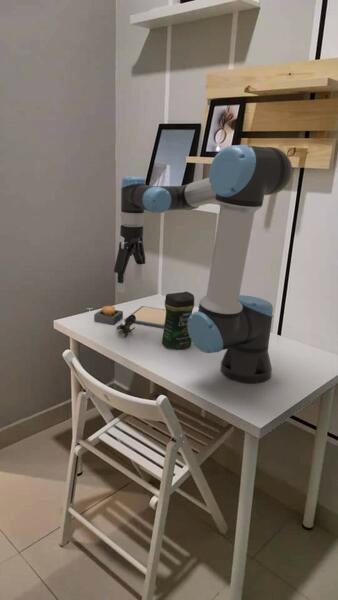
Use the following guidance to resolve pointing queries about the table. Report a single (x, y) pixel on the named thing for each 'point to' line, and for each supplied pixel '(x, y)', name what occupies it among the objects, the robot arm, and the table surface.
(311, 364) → the table surface
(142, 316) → the board
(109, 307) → the button
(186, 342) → the coffee jar
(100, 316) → the button housing
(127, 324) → the eagle figurine
